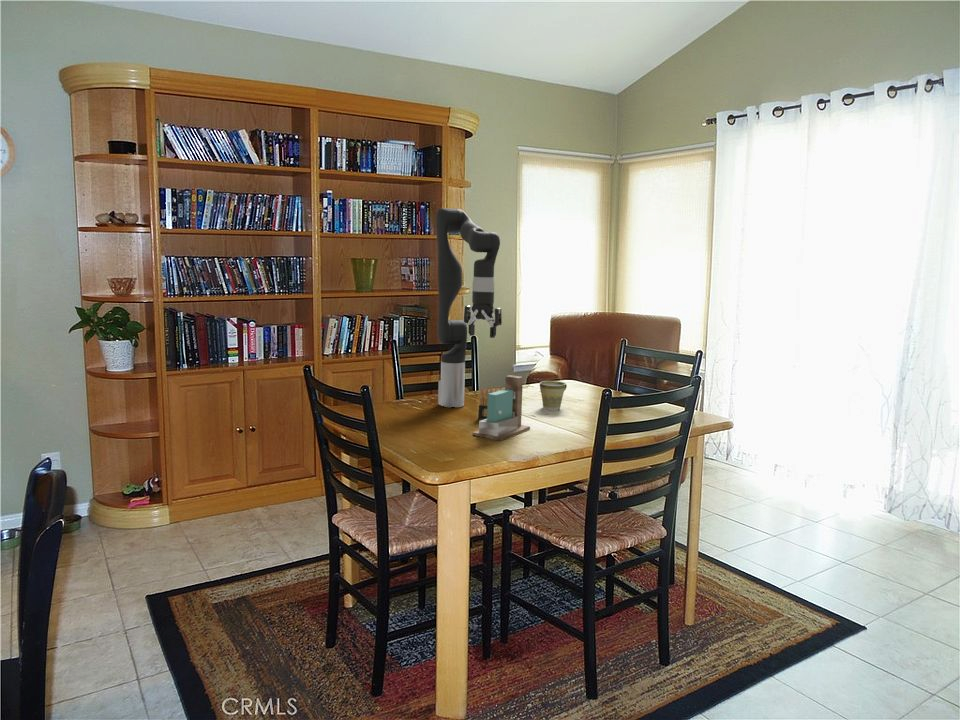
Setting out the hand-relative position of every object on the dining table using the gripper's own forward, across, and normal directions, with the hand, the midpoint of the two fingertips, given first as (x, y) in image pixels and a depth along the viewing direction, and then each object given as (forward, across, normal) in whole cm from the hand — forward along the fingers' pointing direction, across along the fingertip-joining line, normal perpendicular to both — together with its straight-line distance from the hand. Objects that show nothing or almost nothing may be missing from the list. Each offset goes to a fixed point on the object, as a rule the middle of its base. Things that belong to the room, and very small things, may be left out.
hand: (482, 336), depth 258 cm
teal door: (+29, +15, -11) cm, 35 cm away
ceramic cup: (+30, +11, +36) cm, 48 cm away
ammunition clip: (+30, +3, +4) cm, 31 cm away
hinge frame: (+30, +15, -10) cm, 35 cm away
